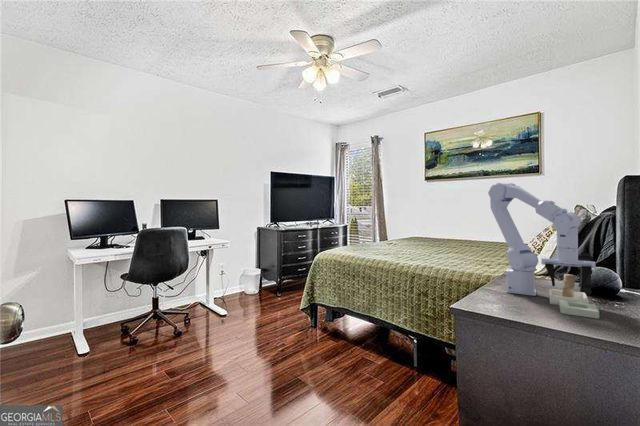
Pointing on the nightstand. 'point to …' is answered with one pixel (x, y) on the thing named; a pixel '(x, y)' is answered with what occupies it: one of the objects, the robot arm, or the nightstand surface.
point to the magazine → (588, 281)
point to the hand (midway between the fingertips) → (567, 287)
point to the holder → (578, 309)
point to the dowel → (568, 285)
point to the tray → (557, 295)
